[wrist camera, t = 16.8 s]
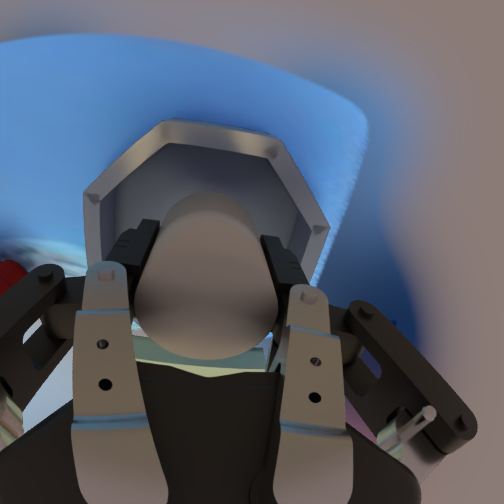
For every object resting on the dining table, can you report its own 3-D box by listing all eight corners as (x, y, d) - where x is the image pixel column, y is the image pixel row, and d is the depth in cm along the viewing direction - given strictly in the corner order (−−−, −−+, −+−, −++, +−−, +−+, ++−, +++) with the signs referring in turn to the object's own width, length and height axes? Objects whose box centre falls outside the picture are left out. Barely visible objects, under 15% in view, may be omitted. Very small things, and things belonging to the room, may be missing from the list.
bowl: (109, 295, 23) (97, 325, 19) (111, 113, 15) (87, 116, 12) (274, 314, 26) (283, 345, 23) (328, 149, 19) (352, 159, 15)
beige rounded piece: (158, 272, 13) (138, 351, 9) (164, 185, 11) (131, 242, 7) (246, 283, 14) (259, 362, 10) (266, 200, 12) (296, 262, 7)
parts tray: (130, 402, 33) (128, 419, 30) (114, 332, 25) (108, 353, 23) (236, 412, 36) (238, 429, 33) (262, 347, 29) (267, 369, 26)
